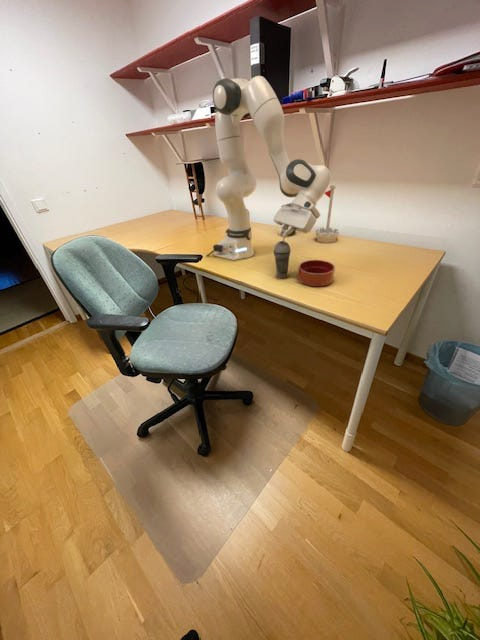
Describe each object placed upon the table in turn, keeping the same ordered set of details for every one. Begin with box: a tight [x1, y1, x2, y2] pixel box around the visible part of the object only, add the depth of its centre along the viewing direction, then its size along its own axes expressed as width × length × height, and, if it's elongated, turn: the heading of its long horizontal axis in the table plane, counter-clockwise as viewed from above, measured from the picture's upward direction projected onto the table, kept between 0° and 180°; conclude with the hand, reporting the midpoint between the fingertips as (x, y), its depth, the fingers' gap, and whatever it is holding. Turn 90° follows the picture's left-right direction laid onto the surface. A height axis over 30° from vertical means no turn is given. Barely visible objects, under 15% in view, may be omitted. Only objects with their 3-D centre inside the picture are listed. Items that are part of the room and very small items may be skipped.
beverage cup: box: [273, 231, 292, 279], centre depth 110 cm, size 7×7×20 cm
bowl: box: [297, 259, 336, 287], centre depth 109 cm, size 15×15×6 cm
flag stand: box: [315, 182, 340, 244], centre depth 144 cm, size 13×13×30 cm
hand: (281, 236), depth 105 cm, fingers closed on beverage cup
